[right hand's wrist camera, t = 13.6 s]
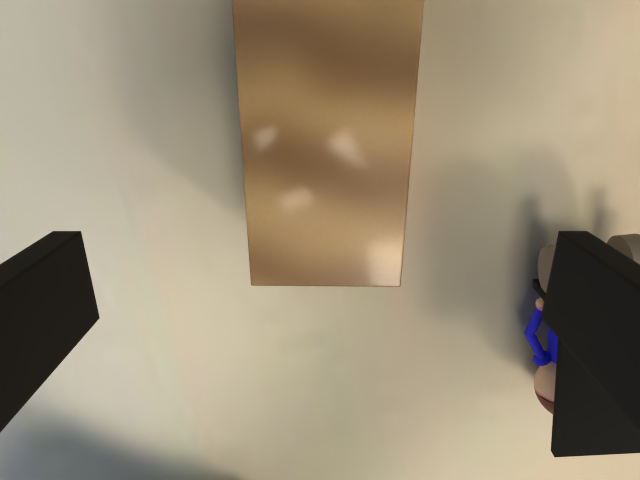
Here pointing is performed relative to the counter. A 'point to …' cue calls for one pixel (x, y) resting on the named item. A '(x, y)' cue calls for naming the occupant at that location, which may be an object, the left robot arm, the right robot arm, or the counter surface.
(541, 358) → the figurine character
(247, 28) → the wide beam
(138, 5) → the counter surface
